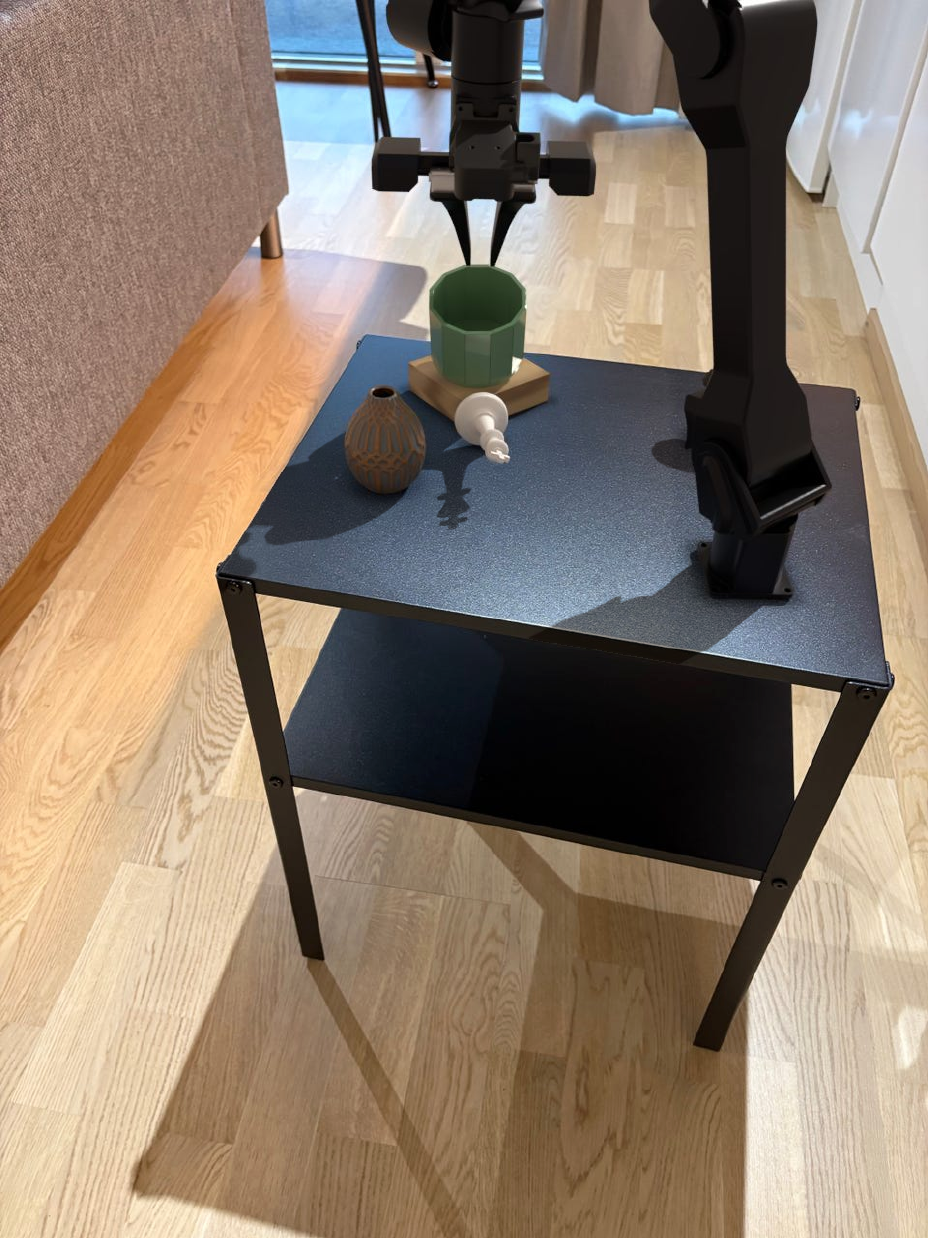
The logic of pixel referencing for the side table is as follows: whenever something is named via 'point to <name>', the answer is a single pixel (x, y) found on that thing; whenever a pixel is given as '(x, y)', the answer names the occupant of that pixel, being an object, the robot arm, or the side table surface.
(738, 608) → the side table surface
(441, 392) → the block
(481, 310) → the cup
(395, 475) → the vase
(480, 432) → the chess piece
